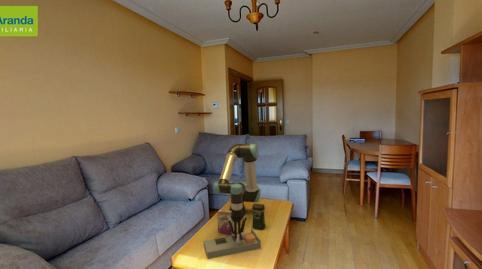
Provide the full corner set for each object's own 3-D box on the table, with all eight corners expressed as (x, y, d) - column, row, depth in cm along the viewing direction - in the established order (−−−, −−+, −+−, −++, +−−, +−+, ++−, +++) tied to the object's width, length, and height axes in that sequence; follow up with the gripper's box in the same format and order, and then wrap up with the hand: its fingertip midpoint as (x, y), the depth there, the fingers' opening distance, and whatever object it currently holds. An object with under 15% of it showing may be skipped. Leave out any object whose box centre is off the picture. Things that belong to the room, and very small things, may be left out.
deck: (203, 244, 165) (203, 236, 164) (252, 235, 175) (252, 228, 174) (207, 258, 149) (207, 250, 148) (260, 248, 159) (260, 240, 158)
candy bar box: (217, 232, 180) (216, 211, 178) (220, 229, 185) (219, 208, 183) (231, 235, 176) (231, 213, 175) (234, 231, 181) (233, 210, 179)
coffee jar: (266, 226, 189) (266, 203, 187) (263, 230, 181) (262, 207, 180) (254, 223, 193) (254, 201, 191) (251, 228, 185) (250, 205, 184)
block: (244, 240, 164) (244, 234, 163) (252, 238, 166) (252, 233, 165) (246, 245, 158) (246, 239, 158) (255, 243, 160) (255, 237, 159)
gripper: (228, 212, 151) (229, 247, 153) (248, 209, 155) (248, 244, 157) (225, 207, 158) (226, 241, 160) (244, 204, 162) (245, 238, 164)
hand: (237, 242), depth 159 cm, fingers closed
